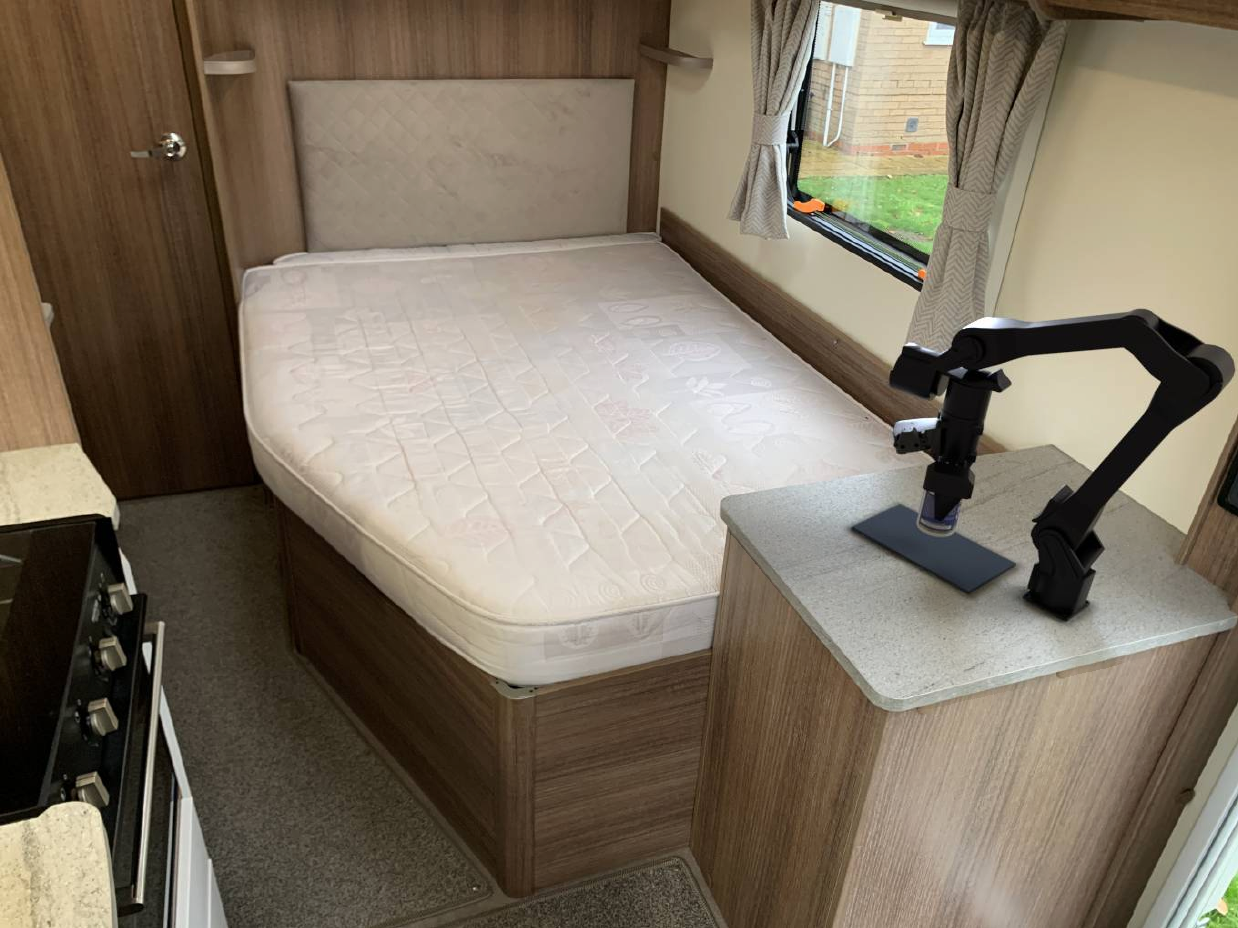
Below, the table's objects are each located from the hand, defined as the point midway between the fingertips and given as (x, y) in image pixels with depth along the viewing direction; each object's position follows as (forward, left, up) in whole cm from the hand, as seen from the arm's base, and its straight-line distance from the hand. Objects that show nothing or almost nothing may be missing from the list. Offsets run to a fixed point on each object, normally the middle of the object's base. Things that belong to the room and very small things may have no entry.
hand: (939, 510), depth 136 cm
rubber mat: (0, 0, -7) cm, 7 cm away
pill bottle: (0, 0, -3) cm, 3 cm away
